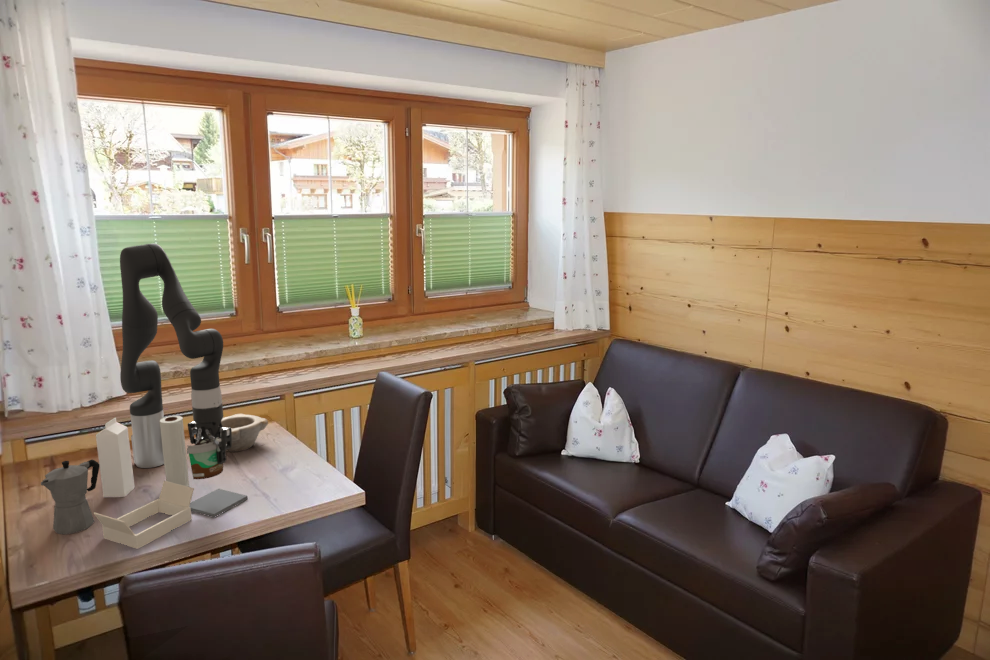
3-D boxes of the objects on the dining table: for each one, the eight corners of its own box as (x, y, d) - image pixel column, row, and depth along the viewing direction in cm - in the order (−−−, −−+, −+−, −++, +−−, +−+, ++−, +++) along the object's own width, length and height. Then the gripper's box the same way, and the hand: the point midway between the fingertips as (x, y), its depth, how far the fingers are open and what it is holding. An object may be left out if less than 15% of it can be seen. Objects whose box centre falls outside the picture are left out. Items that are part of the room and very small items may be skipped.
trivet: (184, 509, 183) (184, 505, 182) (218, 491, 193) (218, 488, 193) (214, 517, 178) (213, 514, 178) (247, 498, 189) (247, 495, 189)
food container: (210, 483, 177) (206, 447, 175) (189, 481, 178) (186, 446, 176) (237, 465, 189) (233, 431, 187) (217, 463, 190) (214, 430, 188)
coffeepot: (62, 541, 166) (52, 474, 162) (36, 534, 169) (26, 468, 165) (117, 514, 180) (109, 451, 176) (92, 508, 183) (84, 446, 179)
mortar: (242, 434, 238) (240, 410, 236) (274, 443, 230) (272, 418, 228) (200, 449, 224) (197, 424, 222) (232, 460, 216) (230, 433, 214)
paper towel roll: (169, 484, 198) (162, 416, 193) (191, 482, 199) (184, 414, 195) (163, 495, 191) (156, 424, 187) (186, 492, 192) (179, 422, 188)
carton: (95, 542, 165) (91, 512, 164) (166, 507, 184) (163, 479, 182) (129, 553, 160) (125, 522, 159) (198, 516, 179) (195, 488, 177)
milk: (134, 488, 195) (127, 416, 191) (124, 497, 190) (116, 423, 185) (113, 488, 195) (105, 416, 191) (102, 497, 189) (94, 423, 185)
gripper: (176, 403, 179) (182, 461, 183) (215, 410, 173) (221, 470, 177) (199, 395, 186) (204, 452, 189) (237, 402, 180) (242, 460, 183)
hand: (212, 460), depth 183 cm, fingers closed on food container, 6 cm apart
